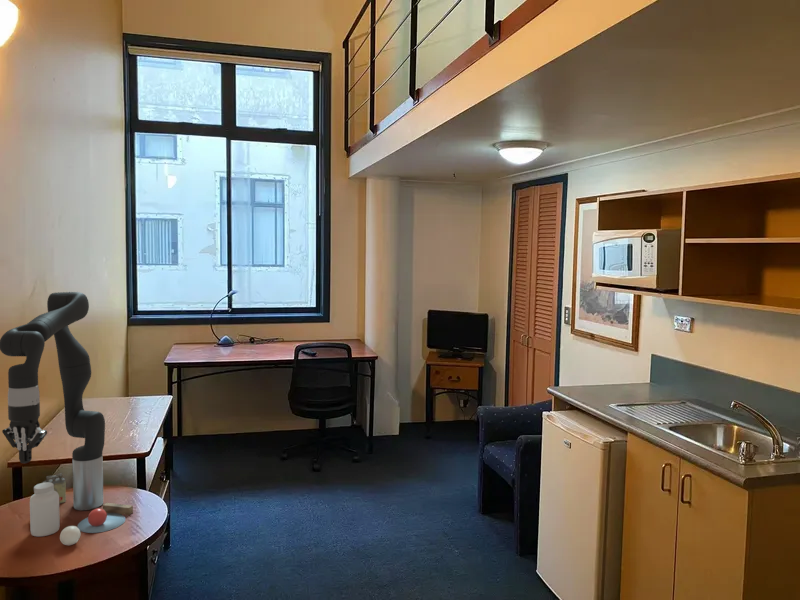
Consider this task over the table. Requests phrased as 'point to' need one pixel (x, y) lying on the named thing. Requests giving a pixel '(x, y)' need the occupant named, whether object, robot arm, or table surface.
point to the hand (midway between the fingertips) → (25, 462)
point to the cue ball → (70, 535)
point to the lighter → (58, 486)
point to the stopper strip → (118, 508)
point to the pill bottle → (44, 510)
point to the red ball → (97, 517)
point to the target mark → (110, 523)
